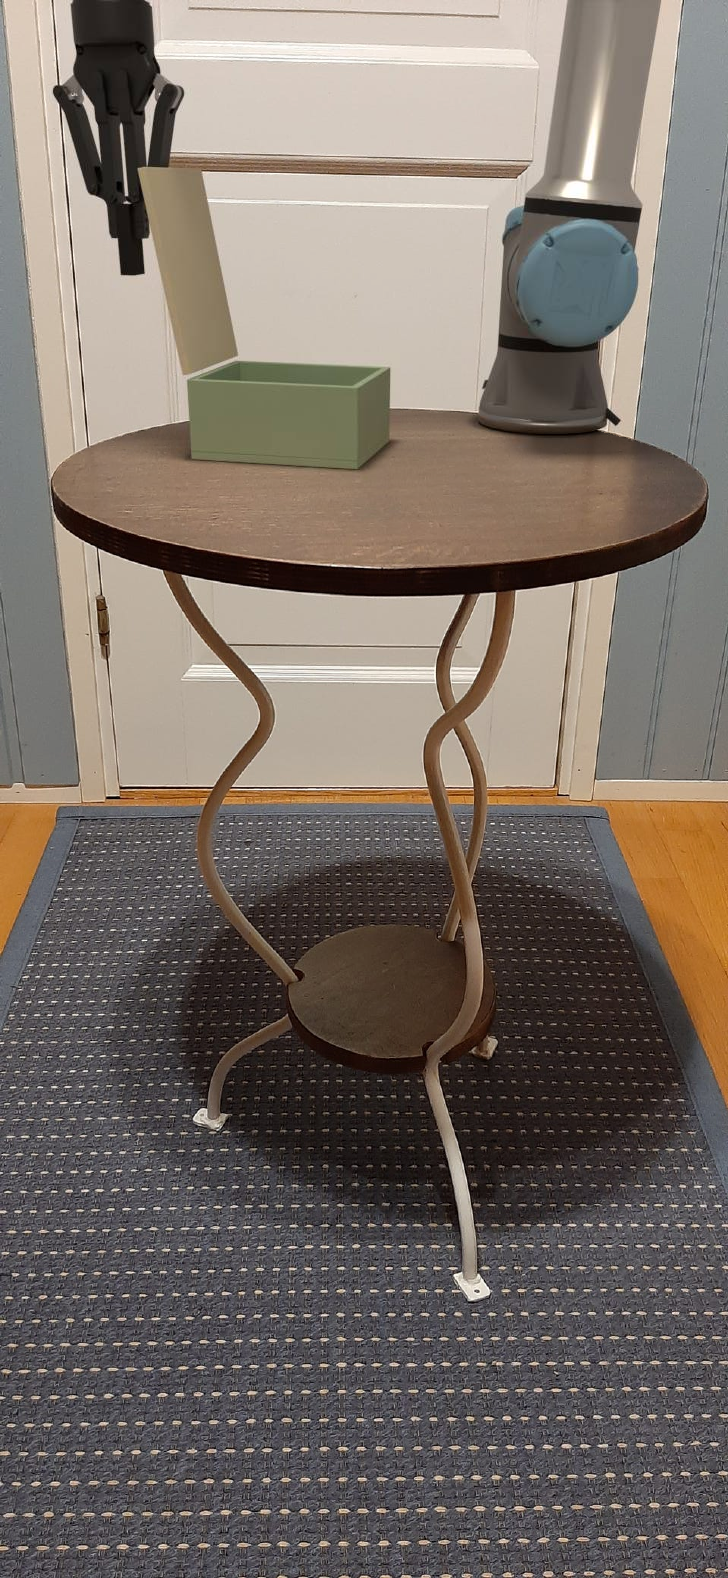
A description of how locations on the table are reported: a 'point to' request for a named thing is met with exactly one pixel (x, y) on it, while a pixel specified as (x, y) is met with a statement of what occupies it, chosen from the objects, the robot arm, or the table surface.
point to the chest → (289, 413)
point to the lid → (189, 266)
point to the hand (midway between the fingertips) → (132, 274)
